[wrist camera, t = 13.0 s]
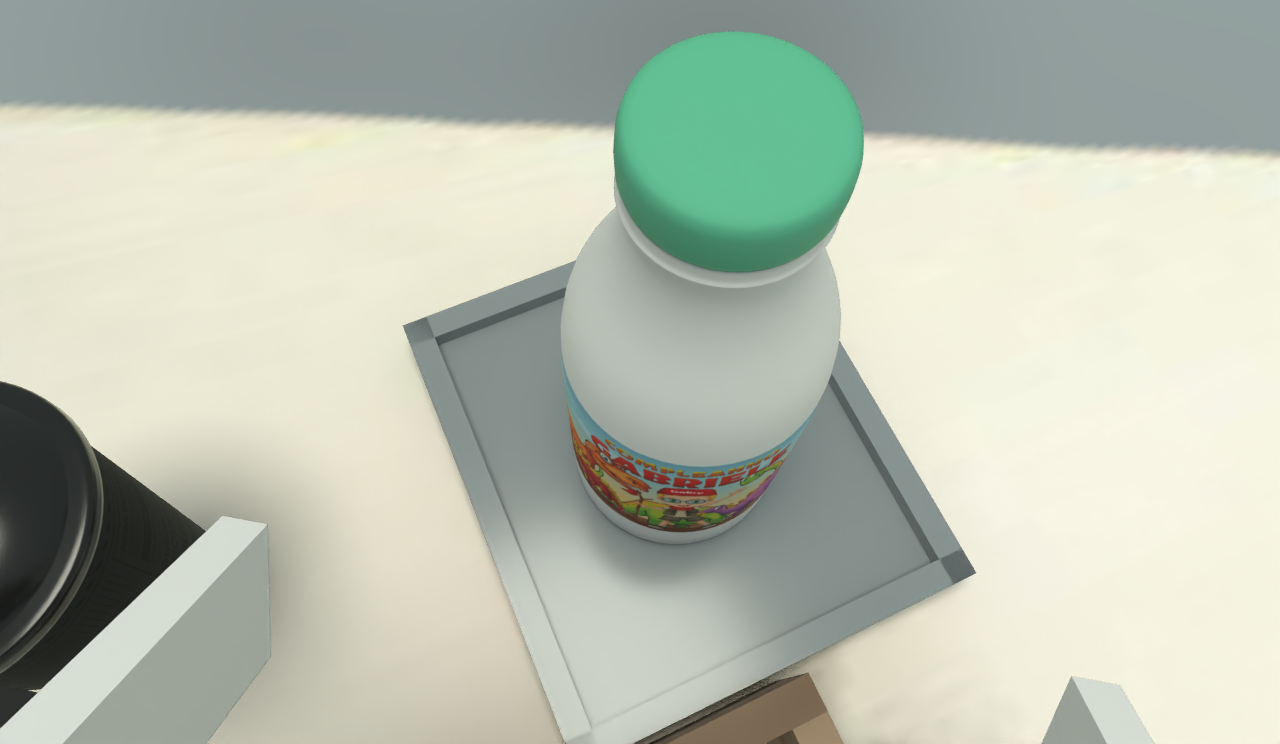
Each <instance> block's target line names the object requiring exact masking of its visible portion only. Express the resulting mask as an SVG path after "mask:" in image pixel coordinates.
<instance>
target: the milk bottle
mask: <svg viewBox="0 0 1280 744" xmlns="http://www.w3.org/2000/svg"><path fill="white" fill-rule="evenodd" d="M863 147H864V135H863V125H862V121H861V116H860V113H859V110H858V107H857V105H856V103H855V101H854V98H853V96H852V95H851V93H850V92H849V90H848V88H847V87H846V85H845V84H844V83H843V81H842V80H841V79H840V78H839V77H838V76H837V74H836V73H835V72H834V71H832V69H831V68H829V67H828V66H827V65H826V64H824V62H822V61H821V60H820V59H818V58H817V57H815V56H814V55H812V54H811V53H809V52H808V51H806V50H804V49H802V48H800V47H798V46H796V45H794V44H791V43H789V42H787V41H784V40H781V39H778V38H774V37H770V36H767V35H762V34H757V33H749V32H717V33H710V34H704V35H699V36H696V37H692V38H689V39H686V40H683V41H681V42H679V43H676V44H674V45H672V46H670V47H668V48H666V49H665V50H663V51H661V52H660V53H658V54H657V55H656V56H654V57H653V58H652V59H650V60H649V61H648V62H647V63H646V64H645V65H644V66H643V67H642V68H641V69H640V70H639V71H638V73H637V74H636V75H635V77H634V78H633V79H632V81H631V83H630V84H629V86H628V88H627V90H626V92H625V94H624V97H623V99H622V101H621V104H620V106H619V109H618V113H617V117H616V123H615V133H614V150H613V153H614V167H615V177H614V196H615V202H616V207H615V208H614V209H613V210H612V211H611V212H610V213H609V214H608V215H607V216H606V217H605V218H604V219H603V220H602V222H601V223H600V224H599V225H598V226H597V227H596V229H595V230H594V231H593V233H592V234H591V236H590V237H589V239H588V240H587V242H586V243H585V245H584V247H583V248H582V250H581V252H580V254H579V256H578V258H577V260H576V262H575V265H574V267H573V270H572V272H571V275H570V278H569V281H568V284H567V288H566V291H565V297H564V303H563V309H562V316H561V351H562V369H563V377H564V385H565V393H566V401H567V407H568V414H569V421H570V428H571V434H572V441H573V447H574V454H575V459H576V463H577V467H578V471H579V474H580V477H581V480H582V483H583V485H584V487H585V489H586V491H587V493H588V495H589V496H590V498H591V500H592V501H593V502H594V504H595V505H596V506H597V508H598V509H599V510H600V511H601V512H602V513H603V514H604V515H605V516H606V517H607V518H608V519H609V520H610V521H612V522H613V523H614V524H616V525H617V526H618V527H620V528H621V529H623V530H625V531H627V532H628V533H630V534H633V535H635V536H637V537H640V538H643V539H646V540H649V541H653V542H657V543H665V544H688V543H694V542H699V541H703V540H707V539H709V538H712V537H715V536H717V535H719V534H721V533H723V532H725V531H727V530H728V529H730V528H731V527H733V526H734V525H736V524H737V523H738V522H739V521H741V520H742V519H743V518H744V517H745V516H746V515H747V514H748V513H749V512H750V510H751V509H752V508H753V507H754V506H755V504H756V503H757V502H758V501H759V499H760V498H761V496H762V495H763V493H764V492H765V490H766V489H767V487H768V486H769V484H770V483H771V481H772V480H773V478H774V477H775V475H776V473H777V472H778V470H779V469H780V467H781V466H782V464H783V462H784V461H785V459H786V458H787V456H788V455H789V453H790V451H791V450H792V448H793V446H794V445H795V443H796V442H797V440H798V438H799V437H800V435H801V433H802V432H803V430H804V428H805V427H806V425H807V423H808V422H809V420H810V418H811V416H812V414H813V412H814V410H815V408H816V406H817V404H818V402H819V400H820V398H821V396H822V394H823V392H824V390H825V388H826V386H827V384H828V381H829V379H830V376H831V373H832V369H833V365H834V362H835V358H836V354H837V350H838V345H839V338H840V320H841V310H840V299H839V292H838V286H837V281H836V277H835V273H834V270H833V267H832V264H831V261H830V259H829V256H828V254H827V251H826V249H825V247H826V246H827V244H828V243H829V241H830V240H831V238H832V236H833V234H834V232H835V230H836V228H837V225H838V222H839V219H840V217H841V215H842V213H843V211H844V209H845V207H846V205H847V204H848V202H849V200H850V197H851V195H852V192H853V190H854V187H855V184H856V182H857V179H858V176H859V173H860V169H861V166H862V160H863Z"/></svg>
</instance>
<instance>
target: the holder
mask: <svg viewBox="0 0 1280 744" xmlns="http://www.w3.org/2000/svg"><path fill="white" fill-rule="evenodd" d="M765 743H767V744H843V742H842V740H841V738H840V735H839V733H838V731H837V729H836V727H835V725H834V723H833V721H832V719H831V717H830V715H829V713H828V711H827V709H826V707H825V705H824V703H823V701H822V699H821V697H820V695H819V693H818V691H817V689H816V687H815V685H814V683H813V681H812V679H811V677H810V675H809V673H806V674H802V675H798V676H794V677H790V678H786V679H782V680H779V681H775V682H772V683H770V684H768V685H766V686H764V687H762V688H760V689H758V690H756V691H754V692H752V693H750V694H748V695H746V696H744V697H742V698H740V699H738V700H736V701H734V702H732V703H730V704H728V705H726V706H724V707H722V708H720V709H718V710H716V711H714V712H712V713H710V714H708V715H706V716H704V717H702V718H700V719H698V720H696V721H694V722H692V723H690V724H688V725H686V726H684V727H682V728H680V729H678V730H676V731H674V732H672V733H670V734H668V735H666V736H664V737H662V738H660V739H658V740H656V741H654V742H652V743H650V744H765Z"/></svg>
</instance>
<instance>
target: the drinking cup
mask: <svg viewBox="0 0 1280 744" xmlns="http://www.w3.org/2000/svg"><path fill="white" fill-rule="evenodd" d="M205 532H206V531H205V530H203V529H202V528H201V527H199V526H198V525H197V524H195V523H194V522H193V521H191V520H190V519H189V518H187V517H186V516H184V515H183V514H182V513H180V512H179V511H178V510H176V509H175V508H174V507H172V506H171V505H170V504H168V503H167V502H166V501H164V500H163V499H162V498H160V497H159V496H158V495H156V494H155V493H154V492H152V491H151V490H150V489H148V488H147V487H146V486H144V485H143V484H141V483H140V482H139V481H137V480H136V479H135V478H133V477H132V476H131V475H129V474H128V473H127V472H125V471H124V470H123V469H121V468H120V467H119V466H117V465H116V464H115V463H113V462H112V461H111V460H109V459H108V458H107V457H105V456H104V455H103V454H101V453H100V452H98V451H97V450H96V449H94V448H93V447H92V446H90V444H89V442H88V440H87V438H86V437H85V435H84V434H83V432H82V431H81V430H80V428H79V427H78V426H77V425H76V424H75V422H74V421H73V420H72V419H71V418H70V417H69V416H68V415H67V414H66V413H64V412H63V411H62V410H61V409H60V408H58V407H57V406H55V405H54V404H53V403H51V402H50V401H48V400H46V399H45V398H43V397H41V396H39V395H37V394H35V393H34V392H31V391H29V390H27V389H24V388H22V387H19V386H16V385H13V384H9V383H6V382H2V381H0V689H2V688H4V687H6V686H7V687H12V688H17V689H22V690H37V689H42V688H43V687H44V686H45V685H46V684H47V683H48V682H49V681H50V680H52V679H53V678H54V677H55V676H56V675H57V674H58V673H59V672H60V671H61V670H62V669H63V668H64V667H65V666H66V665H67V664H68V663H69V662H70V661H71V660H72V659H73V658H74V657H76V656H77V655H78V654H79V653H80V652H81V651H82V650H83V649H84V648H85V647H86V646H87V645H88V644H89V643H90V642H91V641H92V640H93V639H94V638H95V637H96V636H97V635H98V634H100V633H101V632H102V631H103V630H104V629H105V628H106V627H107V626H108V625H109V624H110V623H111V622H112V621H113V620H114V619H115V618H116V617H117V616H118V615H119V614H120V613H121V612H123V611H124V610H125V609H126V608H127V607H128V606H129V605H130V604H131V603H132V602H133V601H134V600H135V599H136V598H137V597H138V596H139V595H140V594H141V593H142V592H143V591H144V590H145V589H147V588H148V587H149V586H150V585H151V584H152V583H153V582H154V581H155V580H156V579H157V578H158V577H159V576H160V575H161V574H162V573H163V572H164V571H165V570H166V569H167V568H168V567H169V566H171V565H172V564H173V563H174V562H175V561H176V560H177V559H178V558H179V557H180V556H181V555H182V554H183V553H184V552H185V551H186V550H187V549H188V548H189V547H190V546H191V545H192V544H193V543H195V542H196V541H197V540H198V539H199V538H200V537H201V536H202V535H203V534H204V533H205Z"/></svg>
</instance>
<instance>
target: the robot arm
mask: <svg viewBox="0 0 1280 744" xmlns="http://www.w3.org/2000/svg"><path fill="white" fill-rule="evenodd" d="M270 656H271V649H270V605H269V561H268V524H264V523H258V522H253V521H248V520H242V519H237V518H232V517H226V516H222V517H221V518H220V519H219V520H218V521H216V522H215V523H214V524H213V525H212V526H211V527H210V528H209V529H208V530H207V531H206V532H205V533H204V534H203V535H202V536H201V537H200V538H199V539H198V540H197V541H196V542H195V543H193V544H192V545H191V546H190V547H189V548H188V549H187V550H186V551H185V552H184V553H183V554H182V555H181V556H180V557H179V558H178V559H177V560H176V561H175V562H174V563H173V564H172V565H171V566H169V567H168V568H167V569H166V570H165V571H164V572H163V573H162V574H161V575H160V576H159V577H158V578H157V579H156V580H155V581H154V582H153V583H152V584H151V585H150V586H149V587H148V588H147V589H145V590H144V591H143V592H142V593H141V594H140V595H139V596H138V597H137V598H136V599H135V600H134V601H133V602H132V603H131V604H130V605H129V606H128V607H127V608H126V609H125V610H124V611H123V612H121V613H120V614H119V615H118V616H117V617H116V618H115V619H114V620H113V621H112V622H111V623H110V624H109V625H108V626H107V627H106V628H105V629H104V630H103V631H102V632H101V633H100V634H98V635H97V636H96V637H95V638H94V639H93V640H92V641H91V642H90V643H89V644H88V645H87V646H86V647H85V648H84V649H83V650H82V651H81V652H80V653H79V654H78V655H77V656H76V657H74V658H73V659H72V660H71V661H70V662H69V663H68V664H67V665H66V666H65V667H64V668H63V669H62V670H61V671H60V672H59V673H58V674H57V675H56V676H55V677H54V678H53V679H52V680H50V681H49V682H48V683H47V684H46V685H45V686H44V687H43V688H42V689H41V690H40V691H39V692H38V693H37V692H32V691H27V690H22V689H17V688H12V687H7V686H6V687H4V688H2V689H0V744H206V743H207V742H208V741H209V739H210V738H211V737H212V735H213V734H214V733H215V731H216V730H217V729H218V727H219V726H220V724H221V723H222V722H223V720H224V719H225V718H226V716H227V715H228V714H229V712H230V711H231V709H232V708H233V707H234V705H235V704H236V703H237V701H238V700H239V699H240V697H241V696H242V694H243V693H244V692H245V690H246V689H247V688H248V686H249V685H250V684H251V682H252V681H253V680H254V678H255V677H256V675H257V674H258V673H259V671H260V670H261V669H262V667H263V666H264V665H265V663H266V662H267V660H268V659H269V658H270ZM1042 744H1154V742H1153V740H1152V738H1151V737H1150V735H1149V733H1148V732H1147V730H1146V728H1145V726H1144V725H1143V723H1142V721H1141V720H1140V718H1139V716H1138V715H1137V713H1136V711H1135V709H1134V708H1133V706H1132V704H1131V703H1130V701H1129V699H1128V698H1127V696H1126V694H1125V692H1124V691H1123V689H1122V687H1121V686H1120V685H1117V684H1111V683H1106V682H1101V681H1096V680H1090V679H1085V678H1080V677H1074V676H1071V678H1070V681H1069V683H1068V685H1067V687H1066V690H1065V692H1064V694H1063V696H1062V699H1061V701H1060V703H1059V705H1058V708H1057V710H1056V712H1055V714H1054V717H1053V719H1052V721H1051V723H1050V726H1049V728H1048V730H1047V732H1046V735H1045V737H1044V739H1043V741H1042Z"/></svg>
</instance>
